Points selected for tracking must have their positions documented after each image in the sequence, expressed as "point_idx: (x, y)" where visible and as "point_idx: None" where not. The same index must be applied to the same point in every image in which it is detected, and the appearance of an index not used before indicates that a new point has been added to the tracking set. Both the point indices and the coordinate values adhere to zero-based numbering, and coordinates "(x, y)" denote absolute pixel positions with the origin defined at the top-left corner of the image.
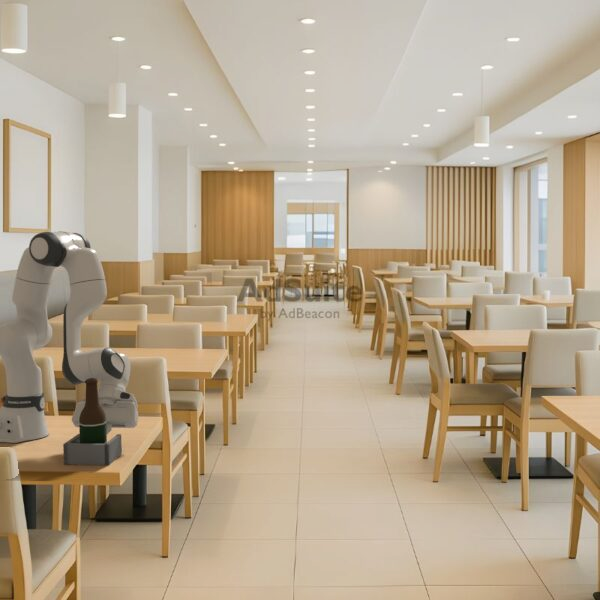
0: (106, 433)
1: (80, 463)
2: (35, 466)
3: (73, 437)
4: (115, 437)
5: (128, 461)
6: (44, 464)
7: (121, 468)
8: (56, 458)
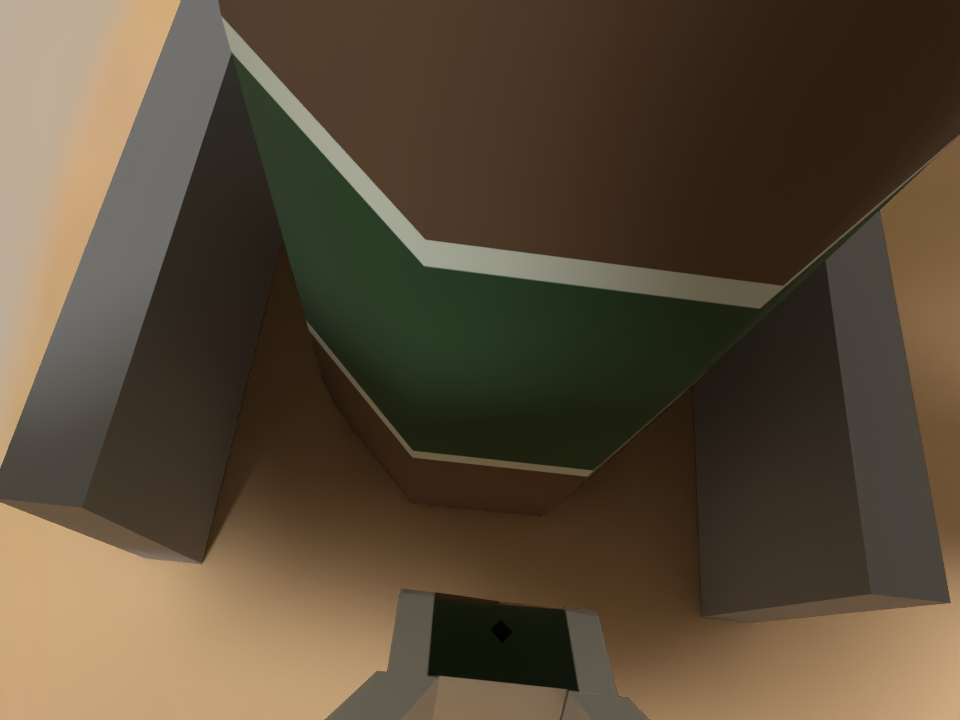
0: (286, 243)
1: None
2: (953, 166)
3: (897, 335)
4: (121, 257)
5: (56, 218)
6: (909, 212)
7: (134, 22)
8: None
